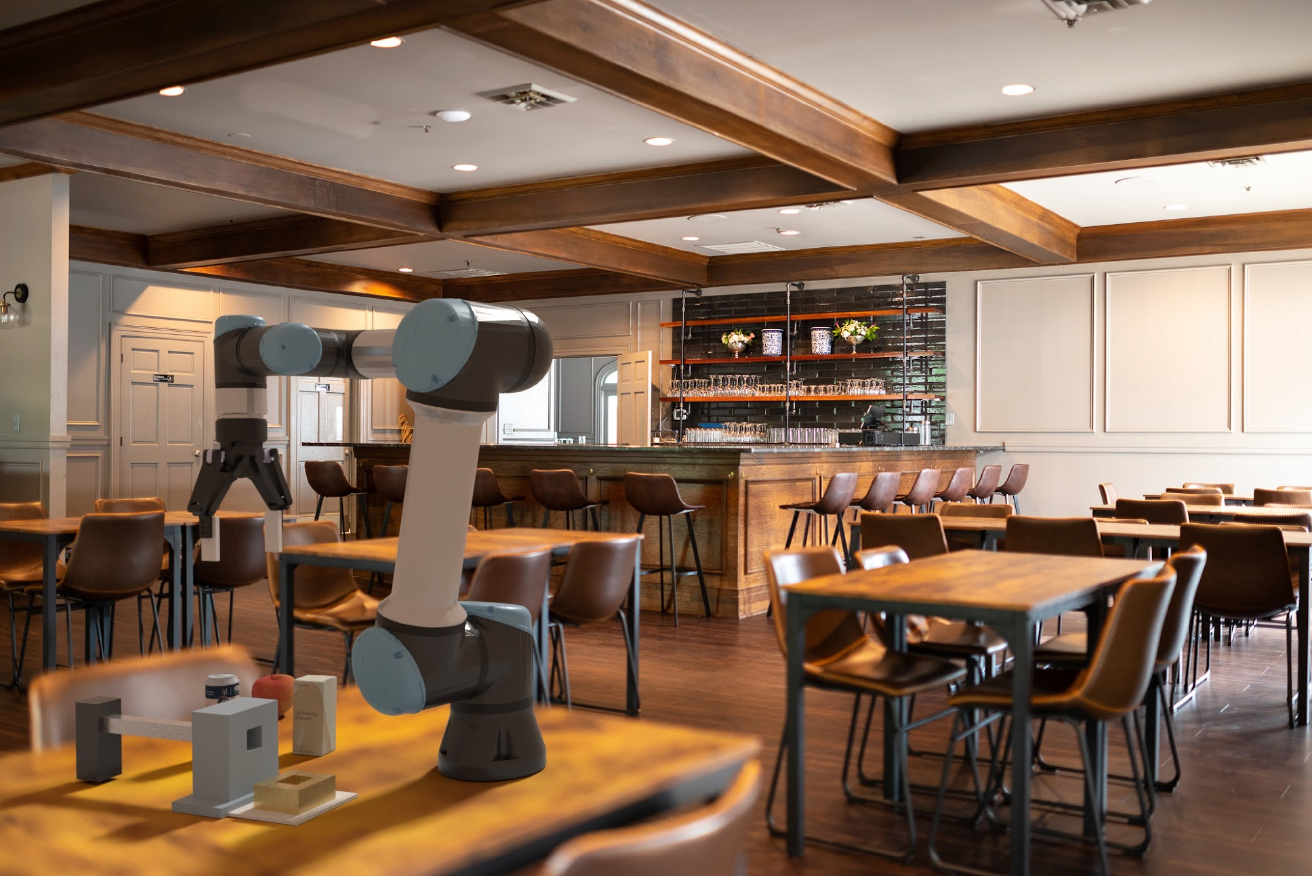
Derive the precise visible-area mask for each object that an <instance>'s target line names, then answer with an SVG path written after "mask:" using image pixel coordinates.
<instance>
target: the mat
mask: <svg viewBox="0 0 1312 876" xmlns="http://www.w3.org/2000/svg"><path fill="white" fill-rule="evenodd" d="M358 797H359V793H357V792H348V791H341V790H336V799H334V800H331V801H329V802H327V803H325V804H323V805H320V806H318V807H316V808H314V809H311V810H309V811H307V812H305V813H302V814H300V815H294V814H287V813H280V812H273V811H266V810H259V809H254V802H252V803H250V804H247V805H245V806H243V807H240V808H238V809H235V810H233V811H231V812H228V816H227V817H233V818H240V819H246V820H247V819H248V820H255V821H262V822H270V823H276V824H283V825H289V826H299V825H301V824H303V823H305V822H307V821H309V820H311V819H314V818H316V817H318V816H320V815H322V814H324V813H327V812H328V811H330V810H331V811H332V810H333V809H335V808H337V807H339V806H341V805H343V804H345V803H347V802H349V801H352V800H353V799H356V798H358Z"/></svg>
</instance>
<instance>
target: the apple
mask: <svg viewBox="0 0 1312 876" xmlns="http://www.w3.org/2000/svg"><path fill="white" fill-rule="evenodd" d="M269 673H270V674H269V675H265V676H263V677H260V678H258V679H257V680H255V681H254V682H253V684H252V686H251V694H250V695H251V698H262V699H273V700H278V718H280V717H281V716H283V715H284V714H286V713H287V712H289V711H290V710H291V709H292V708H293V684H294V680H295V679H296V678H294V677H293V676H291V675H288V674H282V673H281V674H272V673H273V670H270V671H269Z"/></svg>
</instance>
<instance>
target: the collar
mask: <svg viewBox="0 0 1312 876" xmlns="http://www.w3.org/2000/svg"><path fill="white" fill-rule="evenodd" d="M336 785H337V784H336V774H331V773H330V774H329V773H321V772H314V771H308V770H307V771H305V770H300V769H299V770H296V769H290V770H287V771H285V772H282V773H280V774H279V775H277V776H274V777H272V778H269V779H267V780H264V781H262V782H259V783H256V784H254V809H259V810H266V811H273V812H280V813H287V814H294V815H300V814H302V813H305V812H307V811H309V810H311V809H314V808H316V807H318V806H320V805H323V804H325V803H327V802H329V801H331V800H334V799H336V791H337V790H336Z"/></svg>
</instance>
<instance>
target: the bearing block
mask: <svg viewBox="0 0 1312 876" xmlns="http://www.w3.org/2000/svg"><path fill="white" fill-rule="evenodd" d="M191 722H192V742H191V751H192V752H191V756H192V757H191V759H192V761H191V762H192V763H191V764H192V765H191V767H192V773H191V774H192V793H190V794H188V795H186V796H182V797H181V798H178V799H175V800H173V801H171V812H173V813H180V814H181V813H182V814H189V815H194V816H201V817H210V818H216V819H217V818H218V819H225V818H226V817H229V816H228V812H231V811H233V810H235V809H238V808H240V807H243V806H245V805H247V804H250V803H252V802H254V784H256V783H259V782H262V781H264V780H267V779H269V778H272V777H274V776H277V775H279V773H280V771H279V768H280V767H279V757H280V756H279V717H278V700H273V699H262V698H252V696H251V697H249V696H248V697H247V696H239V698H236V699H232V700H229V701H226V702H222V703H219V704H216V705H212V706H209V707H206V708H205V707H203V708H199V709H196V710H192V711H191Z"/></svg>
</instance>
